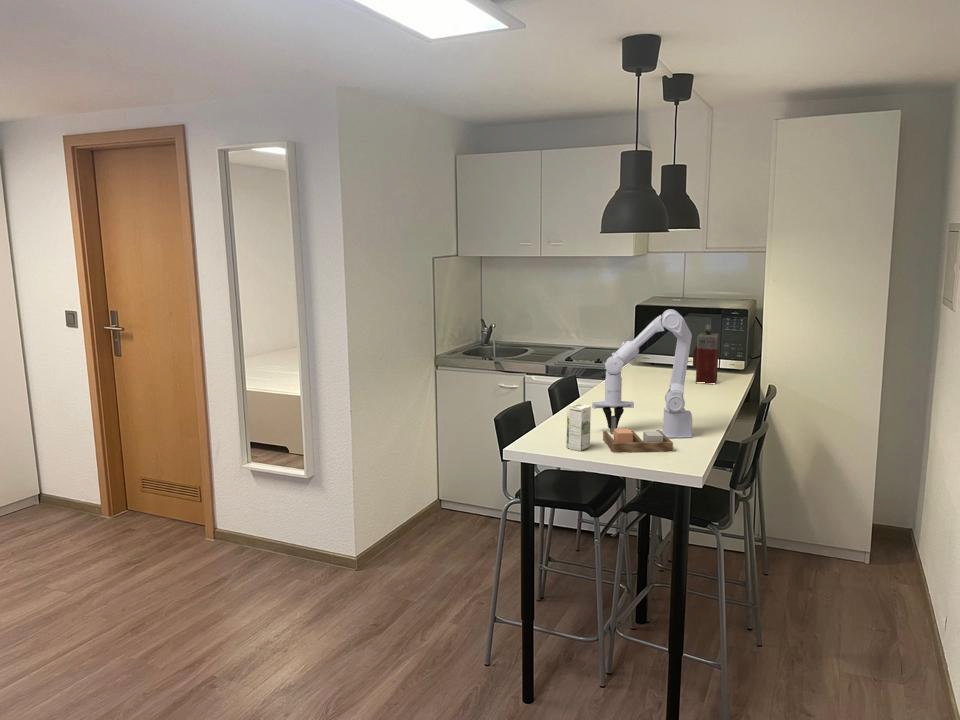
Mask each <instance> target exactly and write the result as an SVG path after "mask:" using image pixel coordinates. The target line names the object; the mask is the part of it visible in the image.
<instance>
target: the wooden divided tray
mask: <svg viewBox="0 0 960 720" xmlns="http://www.w3.org/2000/svg"><path fill="white" fill-rule="evenodd" d="M630 431H631V432H632V433H633V443H616V442H615V441H614V438H613V437H612V436H611V435H610V433H609V432H608V431H606V430H604V431H602V440H603V442H604V441H605V442H604V443H605V444H606V446H607V445H608V446H607V448H608V449H609V450H610V449H611V450H610V451H611V453H612V452H628V453H660V452H659V451H673V449H674V448H673V447H674V442H673V441H672V440H670V438H667V437H666V436H665V435H664V434H663V433H662V432H661V431H662V430H660V429H657V430H655V431H659V432H660V433H661V434H662V435H663V442H643V439H641V438H640V436H639V435H638V434H637V433H636V432H635V431H634V430H630Z"/></svg>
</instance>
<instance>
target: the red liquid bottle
mask: <svg viewBox="0 0 960 720" xmlns="http://www.w3.org/2000/svg"><path fill="white" fill-rule="evenodd" d="M719 339H720V334H719V333H712V324H706V325H705V332H701V333H699V334H698V335H697V339H696V341H697V342H696V343H697V344H696V345H695V346H694V349H693V352H692V367H693V368H696V370H695V371H696V373H695V383H696V382H705V383H716V384H717V382H718V367H719V366H718V365H719V362H718V361H719V345H720V344H719V343H720V342H719V341H720V340H719ZM716 381H717V382H716Z"/></svg>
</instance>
